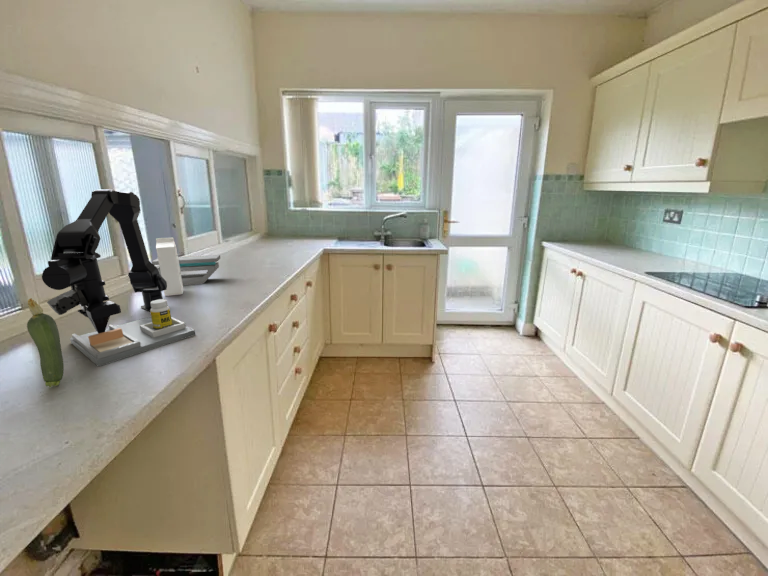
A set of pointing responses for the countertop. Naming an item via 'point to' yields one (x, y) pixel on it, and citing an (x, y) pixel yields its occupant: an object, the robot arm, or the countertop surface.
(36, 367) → the countertop surface
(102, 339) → the lid
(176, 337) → the grey divided tray
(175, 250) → the milk
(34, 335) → the vegetable
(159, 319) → the supplement bottle
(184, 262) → the grey heavy duty stapler
